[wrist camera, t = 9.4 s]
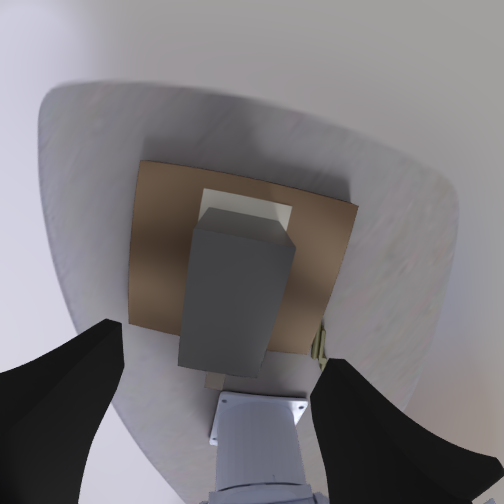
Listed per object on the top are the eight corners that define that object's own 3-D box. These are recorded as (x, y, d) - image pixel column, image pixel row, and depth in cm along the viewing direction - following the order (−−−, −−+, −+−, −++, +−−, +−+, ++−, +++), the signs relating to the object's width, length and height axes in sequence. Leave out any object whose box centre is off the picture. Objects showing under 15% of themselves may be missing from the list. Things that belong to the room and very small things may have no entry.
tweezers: (334, 405, 23) (336, 412, 22) (314, 410, 23) (316, 416, 22) (331, 306, 19) (335, 312, 18) (305, 312, 19) (307, 318, 18)
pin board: (304, 345, 20) (315, 378, 16) (134, 314, 18) (115, 345, 15) (351, 203, 16) (378, 214, 13) (147, 160, 15) (122, 160, 11)
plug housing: (246, 348, 18) (248, 402, 13) (189, 338, 18) (176, 390, 13) (279, 221, 15) (296, 248, 10) (208, 207, 15) (193, 228, 10)
